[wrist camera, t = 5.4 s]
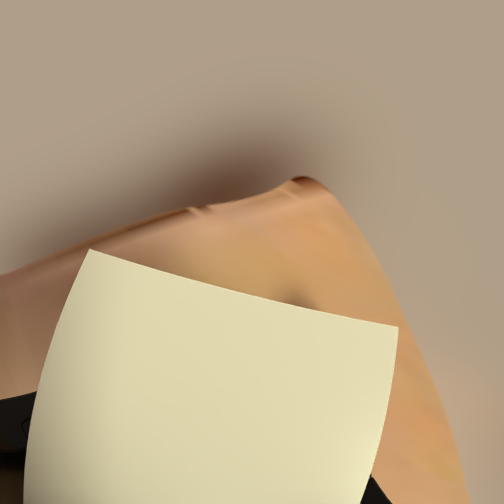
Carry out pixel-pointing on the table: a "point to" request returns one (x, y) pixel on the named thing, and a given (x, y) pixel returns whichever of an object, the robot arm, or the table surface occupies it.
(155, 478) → the block
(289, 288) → the table surface
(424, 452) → the table surface
